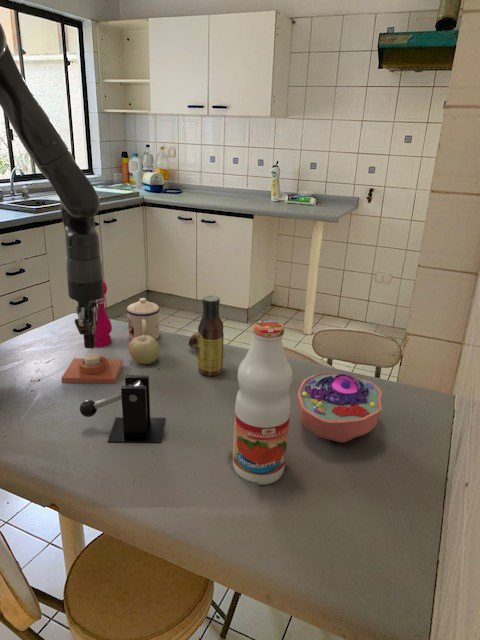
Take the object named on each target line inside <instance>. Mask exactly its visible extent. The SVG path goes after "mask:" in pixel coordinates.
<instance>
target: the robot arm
mask: <svg viewBox="0 0 480 640" xmlns="http://www.w3.org/2000/svg"><path fill="white" fill-rule="evenodd" d="M0 107H1V109H2V110H3V112H4V114H5V116H6V117H7V119H8V121H9V123H10V125H11V126H12V129H13V130H14V132H15V134H16V136H17V138H18V140H19V141H20V143H21V144H22V146H23V147H24V149H25V151H26V152H27V154H28V155H29V157H30V159H31V160H32V161H33V163H34V164H35V166H36V167H37V169H38V170H39V172H40V173H41V175H43V176H44V178H46V180H47V181H48V182H49V183H50V185H51V187H52V188H53V190H54V192H55V193H56V195H57V197H58V198H59V206H60V212H61V218H62V223H63V228H64V236H65V237H64V239H65V241H64V242H65V243H64V244H65V252H66V263H65V264H66V266H65V267H66V268H65V269H66V281H67V291H68V297H69V299H71V300H72V301H75V302H77V305H76V307H75V308H76V309H75V312H76V315H77V318H74V324H75V327H76V329H77V331H78V333H79V334H80V335H83V345H84V348H85V349H94V348H95V347H94V346H95V345H96V343H95V332H94V331H95V330H96V326H97V324H98V322H97V321H98V311H99V302H96V300H97V299H100V298H101V297H102V296H103V295H104V289H103V281H104V276H103V275H104V274H103V262H102V258H101V257H102V256H101V244H100V235H99V232H98V230H97V228H96V221H95V216H97V214H98V212H99V210H100V207H101V199H100V197H99V194H98V193H97V190H96V189H95V187H94V186H93V185H92V183H91V182H90V180H89V179H88V177H87V176H86V175H85V173H84V172H83V170H82V169H81V168H80V166H79V165H78V164H77V161H76V160H75V158H74V157H73V154H72V152H71V151H70V149H69V147H68V146H67V144H66V142H65V140H64V139H63V138H62V136H61V135H60V133H59V131H58V129H57V128H56V126H55V125H54V123H53V121H52V120H51V119H50V117H49V116H48V114H47V113H46V111H45V110H44V108H43V107H42V106H41V104H40V103H39V101H38V100H37V99H36V97H35V96H34V94H33V92H32V91H31V88H30V87H29V86H28V84H27V83H26V80H25V79H24V77H23V75H22V73H21V71H20V69H19V68H18V66H17V63H16V60H15V58H14V57H13V54H12V52H11V50H10V47H9V45H8V43H7V36H6V33H5V30H4V27H3V25H2V23H0Z"/></svg>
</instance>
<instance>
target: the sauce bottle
mask: <svg viewBox="0 0 480 640" xmlns="http://www.w3.org/2000/svg"><path fill="white" fill-rule="evenodd" d="M220 301H221V299H220V297H219V296H218V295H214V294H209V295H205V296H203V297H202V301H201V302H202V303H201V304H202V316H201V319H200V321H199V324H198V326H197V332H198V349H197V366H198V371H199V373H200V374H202V375H204V376H207V377H216V376H218V375H219V374H221V373H222V372H223V366H224V335H225V334H224V322H223V320H222V319H221V317H220V310H219V309H220V303H221V302H220Z"/></svg>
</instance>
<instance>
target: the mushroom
mask: <svg viewBox="0 0 480 640" xmlns="http://www.w3.org/2000/svg"><path fill="white" fill-rule="evenodd" d="M188 346H189V347H190V348H192V349H197V350H198V331H197V332H195V333H193V334H192V335H191V336H190V337H189V339H188Z"/></svg>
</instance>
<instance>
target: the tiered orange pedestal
mask: <svg viewBox="0 0 480 640" xmlns="http://www.w3.org/2000/svg"><path fill="white" fill-rule="evenodd" d="M100 360H101V362H100V363H99V364H97V365H93V366H91V365H85V360H84V357H82V358H81V357H79V358H78V357H74V358H73V359H72V360H71V361H70V364H69V365H68V367H67V368H66V370H65V371H64V373H63V375H62V376H61V379H60V380H61V384H106V385H107V384H110V385H111V384H115V383H116V382H117V380H119V377H120V375H121V372H122V370H123V368H124V363H123V362H124V361H123V358H106V357H105V356H103V355H100Z"/></svg>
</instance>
